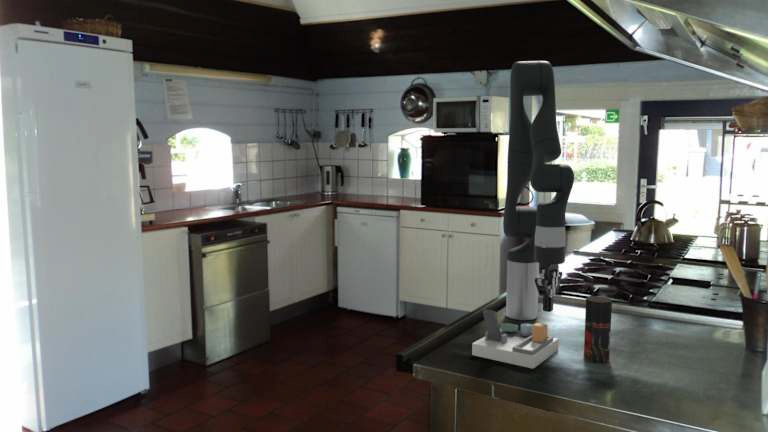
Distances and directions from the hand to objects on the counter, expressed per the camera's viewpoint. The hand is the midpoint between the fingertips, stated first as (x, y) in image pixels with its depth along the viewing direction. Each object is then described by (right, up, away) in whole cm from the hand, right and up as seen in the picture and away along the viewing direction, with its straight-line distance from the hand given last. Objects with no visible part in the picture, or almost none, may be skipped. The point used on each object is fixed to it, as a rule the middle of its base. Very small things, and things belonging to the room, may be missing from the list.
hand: (547, 311), depth 162 cm
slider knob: (-3, -7, -3) cm, 8 cm away
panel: (-9, -10, -2) cm, 13 cm away
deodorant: (+10, -11, -7) cm, 16 cm away
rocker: (-9, -6, +4) cm, 12 cm away
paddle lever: (-14, -7, -3) cm, 16 cm away
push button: (-5, -7, +2) cm, 8 cm away
